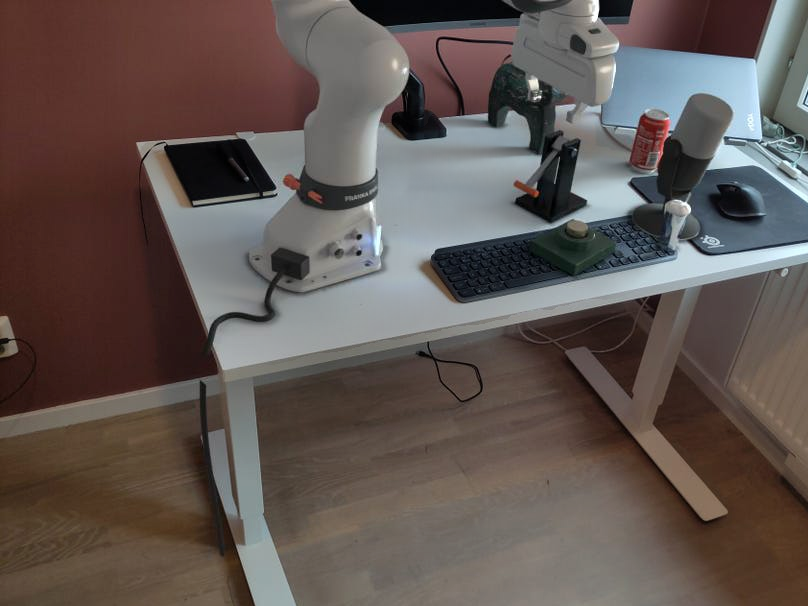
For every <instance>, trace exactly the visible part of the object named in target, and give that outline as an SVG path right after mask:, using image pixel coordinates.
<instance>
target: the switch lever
mask: <svg viewBox="0 0 808 606" xmlns="http://www.w3.org/2000/svg"><path fill="white" fill-rule="evenodd" d="M568 141H571V139H569V138H567V137H566V136H564V135H563V136H561V135H560V136H559V137H558V138H557V139H556V141H555V142H554V143H553V144H552V145H551V148H552V153H551V154H550V155H549V156H548V157H547V158H546V160H545V161H544V162H543V163H542V164H541V166H540V165H539V167H538V168H537V169H536V170H535V172H533V174H532V175H531V176H530V177H529V178H528V179H527V181H526V182H525V183H524V182H521V181H519V179H516V180H515V181H514V182H513V187H514V188H516V189H518V190H520V191H522V192H524V193H525V194H526V193H528V194H530V195H532V196H533V197H537V196H538V194H539V192H538V191H537V190H535V189H536V188H533V187H534V186H535V185H537V181H538V180H539V179H540V178H541V176H542V175H543V174H544V173H545V172H546V171H547V169H548V168H549V167H550V166H551V165H552V163H553V162H554V161H555V160H556V159H557V158H558V157H559V158H560V153H561V148H562V144H564V143H566V142H568Z"/></svg>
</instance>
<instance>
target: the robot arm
mask: <svg viewBox="0 0 808 606" xmlns="http://www.w3.org/2000/svg"><path fill="white" fill-rule="evenodd" d="M501 1H502V2H504V3H506V4H507V5H509V6H510V7H512V8H513V9H515V10H517V11H520V12H522V14H520V17H519V22H518V23H519V24H518V26H517V29H516V32H515V35H514V38H513V39H514V40H513V42H512V49H511V53H510V55H511V57H510V59H511V62H512V63H513V65H514V66H516V67H517V68H519V69H521V70H523V71H525V72H526V74H525V79H526V83H527V87H528V90H529V91H528V100H530V101H532V102H534V103H535V102H539V101H540V100H541V95H542V91H541V90H539V86H538V79H540V80H542V81H543V82H545V83H547V84H549V85H551V86H553V87H555V88H556V89H558V90H560V91H562V92H564V93H566V94H567V96H570V97H571V98H573V99H574V100H573V105H575V106H574V108H573V109H572V110H567V112H566V118H565V121H566V122H568V123H570V124H571V125H577V124H579V123H580V121H581V117H582V114H583V112H584V111H585V110H586V109H587V108H588V107H590V108H594V107H598V106H601V105H604V104H606V103H607V102H608V101H609V100H610V98H611V96H612V91H613V87H614V81H615V76H616V59H615V57H614V55H613V54H615V53H617V52H618V51H619V47H620V41H619V39H618V37H617V36H616V35H615V34H614V33H613V32H612V31H611V30H610V29H609V28H608V27H607V26H606V25H605V23H604V22H603V21H602V20H601V18H600V17H598V16H599V11H600V0H501ZM270 3H271V5H272V9H273V12H274V16H275V31H276V34H277V38H278V40H279V42H280V43H281V45H282V47H283V48H284V49H285V51H286V52H287V54H288V55H289V56H290V57H291V58H292V60H293V61H294V62H295V63H296V64H297V65H299V66H300V67H302V68H303V69H304V70H306V71H307V72H308V73H310V74H311V75H312V76H314V77H315V78H316V81H317V82H318V87H319V94H318V101H317V105H316V108H315V109H314V110H313V111H311V112H310V113H309V114H308V115H307V116H306V117H305V120H304V123H303V143H304V144H303V146H304V147H303V149H304V165H303V167H302V169H301V173H300V175H299V177H295V176H294V175H293V174H291V173H287V174H285V175H284V177H283V179H282V183H283V185H284V186H285V187H287V188H289V189H290V190H291V191H295V193H294V194H293V195H292V196H291V197H290V198H289V199H288V200H287V201H286V202H285V203H284V205H283V206H281V208H280V209H279V210H277V212H276V213H275V214H274V215H273V216H272V217H271V218H270V220H268V221H267V223H266V224H265V227H264V230H263V236H262V242H261V243H259V244H257V245H256V246H254V247H253V248H251V249H249V251H248V260H249V263H250V265H251V266H252V268H253V269H254V270H255V272H257V273H258V274H259V275H260V276H262V277H263V278H264V279H266V280H267V281H268V282H270V283H269V285H268V287H267V289H266V292H265V295H264V302H263V303H264V308H265V309H266V311H267V314H266V315H255V314H250V313H246V312H241V311H230V312H226V313H223V314H222V315H220V316H218V317H216V318H215V319H214V320H213V321H212V323H211V325H210V327H209V330H208V334H207V338H206V342H205V345H204V348H203V351H202V355H203V356H206V357H207V356H208V355H210V353H211V351H212V348H213V345H214V341H215V337H216V332H217V329H218V327H219V326H220V324H222V323H224V322H225V321H228V320H230V319H242V320H246V321H250V322H255V323H267V322H269V321H271V320H273V319H274V318H275V316H276V310H275V309H274V308H273V306H272V303H271V299H272V295H273V292H274V291H275V288H276V286H277V287H279V288H281V289H284V290H287V291H290V292H295V293H300V294H301V293H306V292H309V291H314V290H316V289H321V288H323V287H326V286H331V285H333V284H336V283H340V282H343V281H347V280H350V279H353V278H357V277H360V276H361V277H362V276H363V275H367V274H371V273H373V272H377V271H379V270H380V269H382V261H381V256H382V253H383V251H384V243H383V240H382V237H381V231H382V225H379V222H378V221H379V220H378V213H377V212H378V211H377V200H376V199H377V195H378V193H379V170H378V168H377V145H378V133H379V132H378V131H379V126H380V122H381V118H382V115H383V112H384V110H385V108H386V106H388V105H390V104H391V103H393V102H394V101H395V100H396V99H397V98H398V97H399V96H401V94H402V93H403V91H404V89H405V87H406V85H407V83H408V80H409V76H410V61H409V56H408V54H407V52H406V50H405V49H404V47H403V46H402V45H401V43H400V42H399V41H398V39H396V37H394V36H393V34H392V33H391V32H390V31H389V30H388V29H387V28H386V27H384V26H383V25H381V24H379V23H378V22H376V21H375V20H373V19H371V18H370V17H368V16H366V15H365V14H364V13H362V12H360V11H359V10H358V9H357V8H356V7H355V5H354V4H352V2H351V1H350V0H270ZM207 415H208V414H207V384H206V383H205V382H203V381H202V380H201V379H199V418H200V420H199V421H200V429H201V430H200V433H201V440H202V448H203V455H204V462H205V469H206V475H207V482H208V487H209V493H210V499H211V505H212V511H213V517H214V523H215V529H216V535H217V541H218V550H219V555H220V556H221V557H225V556H226V547H225V537H224V531H223V525H222V519H221V513H220V512H221V511H220V506H219V500H218V493H217V488H216V482H215V477H214V476H215V475H214V470H213V463H212V457H211V456H212V455H211V448H210V439H209V430H208V416H207Z"/></svg>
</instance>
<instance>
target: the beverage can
mask: <svg viewBox="0 0 808 606" xmlns="http://www.w3.org/2000/svg"><path fill="white" fill-rule="evenodd" d="M669 117H670V114H669V113H668V112H667V111H665V110H662V109H658V108H648V109H645V110H644V113H642V115H640V117H639V120H638V123H637V126H636V127H637V129H636V131H635V136H634V140H633V144H632V148H631V153H630V157H629V163H630V165H631V167H632V168H633V170H635V171H636V172H639V173H645V174H650V173H653V172H654V171H657V166H658V162H659V160H660V158H661V156H662V154H663V146H664V141H665V140H666V138H667V137H668V135H669V131H670V127H671V121H670V118H669Z"/></svg>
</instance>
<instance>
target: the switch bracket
mask: <svg viewBox="0 0 808 606" xmlns="http://www.w3.org/2000/svg"><path fill="white" fill-rule="evenodd" d="M564 133H565V131H563V130H561V129H559V130H556V131H554V132H553V133H551V134H548V135H546V136H545V139H544V145H543V151H542V154H541V159H540V164H539V167H540V166H541V164H542V163H543V162H544V161H545V160H546V158H547V157H548V156H549V155H550V154H551V153H552V148H551V145H552V144H553V143H554V142H555V141H556V139H557V138H558V137H559V136H560V135H561V136H563V137H564ZM581 142H582V139H580V138H578V137H576V138H574V139H570V141H568V142H566V143H564V144H562V148H561V153H560V157H558V158H557V159H556V160H555V161H554V162H553V163H552V165H551V166H550V167H549V168H548V169H547V171H546V172H545V173H544V174H543V175H542V176H541V178H540V179H539V180H538V181H537V182H536V187H535V188H534V189H535V190H537V191H538V192H539V194H538V196H537V197H533V196H532V195H530V194H528V193H526V192H525V193H524V194H522V195H519V196H517V197H516V198H515V200H514V204H515V206H518V207H520V208H522V209H523V210H525V211H527V212H529V213H531V214H533V215H535V216H536V217H538V218H540V219H542V220H544V221H545V222H547V223H549V224H553V223H555V222H557V221H559V220H561V219H563V218H565V217H567V216H569V215H571V214H573V213H575V212H576V211H578V210H581V209H583V208H584V207H587V204H588V199H585V198H584V197H582V196H580V195H578V194H576V193H574V192H572V187H573V182H574V177H575V172H576V169H577V168H576V167H577V163H578V157H579V152H580V147H581Z"/></svg>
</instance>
